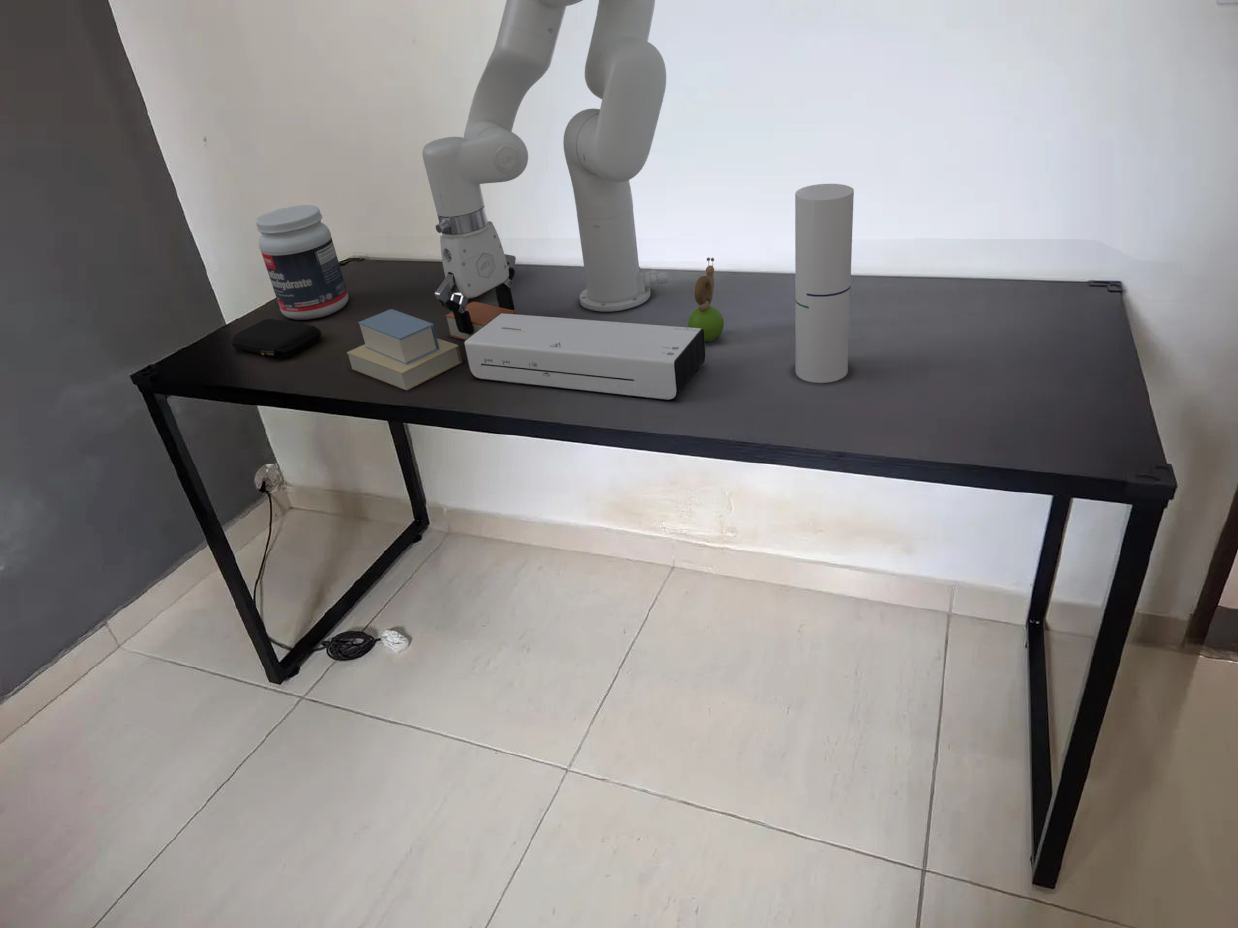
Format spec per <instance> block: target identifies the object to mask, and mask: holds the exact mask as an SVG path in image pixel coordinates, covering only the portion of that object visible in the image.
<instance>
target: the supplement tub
mask: <svg viewBox="0 0 1238 928" xmlns="http://www.w3.org/2000/svg"><path fill="white" fill-rule="evenodd" d="M321 213H322V212H321V210H320V208H319V207H318V206H315V205H312V204H311V205H310V204H303V205H292V206H287V207H282V208H278V209H275V210H272V211H269V212H266V213H264V214H262V215H259V216H258V217H257V218H256V219H255V225H256V227H257V231H258V232H259V233H261V235H260V237H259V240H258V247H259V250H260V252H261V256H262V258H263V262H264V265H265V268H266V271H267V274H268V277H269V280H270V283H271V285H272V289H273V293H274V295H275V298H276V301H277V304H278V306H279V311H280V312H281V314H282V315H283V316H284V317H286V318H288V319H291V320H295V321H309V320H317V319H322V318H325V317H328V316H331V315H333V314H335V313H336V312H338V311H340V310H342V309H343V308H344V307H345V306H346V305H347V303H348V301H349V293H348V290H347V286H346V282H345V279H344V276H343V273H342V268H341V266H340V262H339V258H338V255H337V251H336V248H335V244H334V242H333V241H334V240H333V237H332V233H331V231H330V229H329V227H328V226H327V225H326V224H325V223H323V222H322V219H323V215H322V214H321Z"/></svg>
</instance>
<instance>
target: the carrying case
mask: <svg viewBox="0 0 1238 928" xmlns="http://www.w3.org/2000/svg"><path fill="white" fill-rule="evenodd" d="M321 336H322V331H321V329H320V328H318V327H316V326H315V325H312V324H310V323H309V324H307V323H303V322H302V323H301V322H295V321H288V320H282V319H275V318H265V319H262V320H260V321H258V322H256V323H255V324H252V325H250V326H248V327H246V328H244V329H242V330H240V331H238V332H236V333H235V334H234V335H233V337H232V339H231V345H232V346H233V348H234V349H236V350H241V351H243V352H248V353H254V354H259V355H261V356H262V357H278V358H289V357H292V356H294V355H295V354H297V353H299V352H301V351H302V350H305V349H306V348H308V347H310V346H312V345H313V344H315V343H316V342H318V341H319V340H320V337H321Z"/></svg>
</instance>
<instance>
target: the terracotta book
mask: <svg viewBox="0 0 1238 928" xmlns="http://www.w3.org/2000/svg"><path fill="white" fill-rule="evenodd" d="M465 311H468V312H469V314H470V318H471V322H472V326H473V330H474V332H473V334H474V333H475V332H477V331H478V330H479V329H480V328H482V327H483V326H484V325H486V324H487V323H488V322H490V321H491V320H492V319H494V318H495V317H496V316H497V315H499V314H500V313H503V314H516V311H515V310H510V309H505V308H501V307H499V306H496V305H491V304H486V303H483V302H479V301H472V302H470V303H467V306H466V309H465ZM445 318H446V321H447V326H448V330H449V337H451V338H455V339H460V340H464V341H465V340H466V339H467V338H469V337H470V336H471V335H473V334H471V335H470V334H465V333H461V332H459V331H458V328H457V325H456V321H455V318H454V314H453V311H450V312H449V313H447V314H446V315H445Z"/></svg>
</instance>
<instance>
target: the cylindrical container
mask: <svg viewBox="0 0 1238 928" xmlns="http://www.w3.org/2000/svg"><path fill="white" fill-rule="evenodd" d="M854 194H855V190H854V188H853V187H852V186H849V185H846V184H841V183H819V184H812V185H807V186H803V187H801V188H799V189H797V190H796V191H795V193H794V233H795V234H794V239H795V240H794V243H795V244H794V246H795V249H794V250H795V251H794V252H795V253H794V254H795V255H794V258H795V260H794V263H795V265H794V268H795V269H794V271H795V272H794V274H795V275H794V277H795V279H794V280H795V281H794V283H795V285H794V286H795V287H794V289H795V290H794V291H795V292H794V293H795V295H794V296H795V298H794V299H795V300H794V301H795V304H794V305H795V306H794V307H795V309H794V310H795V311H794V312H795V321H794V324H795V332H794V333H795V335H794V336H795V337H794V339H795V351H794V353H795V359H794V361H795V365H794V367H795V374H796V376H797V377H798V378H799V379H800V380H803V381H806V382H808V383H809V382H810V383H815V384H825V383H833V382H836V381H839V380H842V379H844V378H845V377H846V376H847V375H848V371H849V345H850V344H849V342H850V316H851V315H850V311H851V310H850V309H851V287H852V286H851V283H852V258H853V257H852V256H853V255H852V254H853V253H852V252H853V251H852V250H853V226H854V225H853V223H854V222H853V221H854V197H855V196H854Z"/></svg>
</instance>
